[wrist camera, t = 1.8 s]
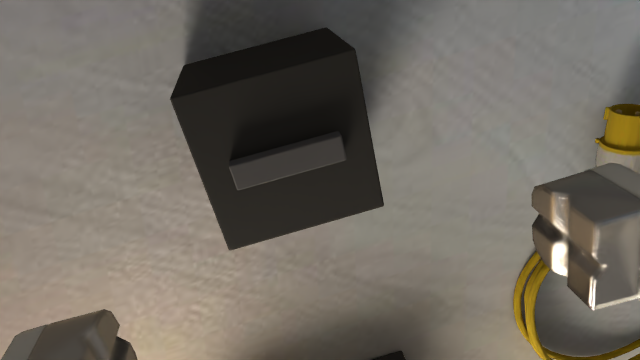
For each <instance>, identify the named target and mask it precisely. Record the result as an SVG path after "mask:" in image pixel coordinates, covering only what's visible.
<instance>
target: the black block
mask: <svg viewBox="0 0 640 360" xmlns="http://www.w3.org/2000/svg"><path fill="white" fill-rule="evenodd" d="M170 100H171V102H172V105H173V108H174V110H175V113H176V115H177V118H178V120H179V123H180V125H181V128H182V131H183V133H184V136H185V138H186V141H187V143H188V146H189V149H190V151H191V154H192V156H193V159H194V161H195V164H196V167H197V169H198V172H199V174H200V177H201V179H202V182H203V185H204V187H205V190H206V192H207V195H208V197H209V200H210V203H211V205H212V208H213V210H214V213H215V215H216V218H217V221H218V223H219V226H220V228H221V231H222V233H223V236H224V239H225V241H226V244H227V246H228V249H229V250H234V249H237V248H241V247H244V246H248V245H251V244H255V243H258V242H261V241H265V240H268V239H272V238H275V237H279V236H282V235H286V234H289V233H293V232H296V231H300V230H303V229H306V228H310V227H313V226H317V225H320V224H324V223H327V222H331V221H334V220H338V219H341V218H344V217H348V216H351V215H355V214H358V213H362V212H365V211H369V210H372V209H376V208H379V207H383V206H384V203H383V197H382V192H381V187H380V181H379V176H378V170H377V165H376V159H375V154H374V149H373V143H372V138H371V132H370V127H369V121H368V116H367V110H366V105H365V100H364V94H363V89H362V83H361V78H360V72H359V67H358V62H357V56H356V51H355V49H354V48H353V47H352V46H350V45H349V44H348V43H346V42H345V41H344V40H342V39H341V38H340V37H339V36H337V35H336V34H335V33H333V32H332V31H331V30H329V29H328V28H322V29H318V30H315V31H311V32H307V33H303V34H300V35H296V36H292V37H288V38H284V39H281V40H277V41H273V42H269V43H266V44H262V45H258V46H254V47H250V48H247V49H243V50H239V51H235V52H232V53H228V54H224V55H220V56H216V57H213V58H209V59H205V60H201V61H198V62H194V63H190V64H186V65H184V66H183V68H182V71H181V73H180V76H179V78H178V81H177V83H176V86H175V88H174V91H173V93H172V95H171V98H170Z"/></svg>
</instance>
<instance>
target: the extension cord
mask: <svg viewBox="0 0 640 360" xmlns="http://www.w3.org/2000/svg"><path fill="white" fill-rule="evenodd" d="M604 120H607V124H606V129H605V134H604V136H603V137H601V138H596V141H595V143H599V146H598V150H597V155H596V167H598V166H601V165H604V164H607V163H618V164H621V165H623V166H625V167H626V168H628V169H630V170H632V171H634V172H636V173H638V174H640V105H636V104H618V105H613V106H611V107H606V109H605V114H604ZM540 259H541V258H540V256H539V255H538V253H537V251H536V252H535V253H534V255H533V256H532V257H531V258H530V260H529V261H528V263H527V264H526V266H525V267H524V269H523V271H522V273H521V274H520V277H519V279H518V281H517V285H516V288H515V293H514V300H513V301H514V314H515V319H516V322H517V325H518V327H519V329H520V331H521V333H522V334H523V336H524V337H525V338H526V340H527V341H528V342H529V343H530V344H531V345H532V346H533V348H534V350H535V351H536V353H537V354H538V355H539V356H540V357H541V358H542V359H543V360H553V359H556V360H609V359H612V358H615V357H617V356H620V355H622V354H625V353H627V352H630V351H632V350H634V349H636V348H638V347H640V339H638V340H636V341H635V342H633V343H631V344H629V345H627V346H624V347H622V348H619V349H617V350H614V351H611V352H609V353H605V354H602V355H597V356H591V357H572V356H566V355H561V354H558V353H555V352H553V351H550V350H548V349H546V348H545V347H543V346H542V344H541V342H540V340H539V337H538V334H537V331H536V325H535V303H536V298H537V293H538V291H539V288H540V285H541V283H542V281H543V280H544V278H545V276H546V275H547V273H548V272H549V271H550V269H549V268H548V267H547V266H546V265H545V264H544V262H543V261H542V259H541V260H540ZM539 260H540V261H539ZM538 261H539V263H538V264H537V262H538ZM536 264H537V266H536V267H535V265H536ZM534 267H535V269H534V271H533V273H532V274H531V276H530V278H529V280H528V282H527V285H526V288H525V292H524V303H525V316H526V325H527V328H526V326H525V323H524V321H523V317H522V312H521V297H522V291H523V288H524V284H525V281H526V279H527V277H528V275H529V274H530V272H531V271H532V269H533V268H534ZM551 358H553V359H551ZM628 360H640V354H638V355H636V356H634V357H632V358H630V359H628Z"/></svg>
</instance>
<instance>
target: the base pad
mask: <svg viewBox="0 0 640 360" xmlns="http://www.w3.org/2000/svg"><path fill="white" fill-rule="evenodd" d="M373 360H406V359H405V357H404V355H403V353H402V351H399V352H396V353H393V354H390V355H386V356H383V357H380V358H377V359H373Z"/></svg>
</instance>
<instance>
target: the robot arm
mask: <svg viewBox="0 0 640 360" xmlns="http://www.w3.org/2000/svg"><path fill="white" fill-rule="evenodd" d="M532 207H533V208H534V209H535V210H536V211H537V212H538V213H539V215H538V217H537V218H536V220H535V221H534V223H533V225H532V234H533V242H534V245H535V247H536V250H537V253H538V255H539V256H540V258H541V259H542V261H543V262H544V264H545V265H546V266H547V267H548V268H549V269H550V270H551V271H553V272H556V273H559V274H562V275H565V276H567V286H568V287H569V288H570V289H571V290H572V291H573V292H574V293H575V294H576V295H577V296H578V297H579V298H580V299H581V300H582V301H583V302H584V303H585V304H586V305H587V306H588V307H589V308H590V309H591V310H596V309H599V308H603V307H607V306H610V305H614V304H618V303H621V302H625V301H629V300H632V299H636V298H639V300H640V174H638V173H636V172H634V171H632V170H630V169H628V168H626V167H625V166H623V165H621V164H618V163H607V164H604V165H601V166H598V167H595V168H592V169H589V170H586V171H584V172H581V173H578V174H574V175H571V176H568V177H565V178H561V179H558V180H555V181H551V182H548V183H545V184H541V185H538V186H535V187H534V189H533V192H532ZM119 326H120V325H119V323H118V321H117V320H116V318H115V317H114V315H113V314H112V312H111V311H108V310H105V309H103V310H100V311H96V312H92V313H88V314H85V315H81V316H77V317H73V318H70V319H66V320H62V321H58V322H54V323H51V324H49V325H43V326H40V327H36V328H33V329H30V330H26V331H23V332H21V333H20V334H18V335H16V336H15V337H14V339H13V341H12V342H11V344H10V346H9V347H8V349H7V351H6V352H5V354H4V356H3V357H2V359H1V360H137V356H136V353H135V351H134V349H133V347H132V346H131V344H130V342H128V341H126V340H123V339H121V338H119V337H117V333H118V329H119Z"/></svg>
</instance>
